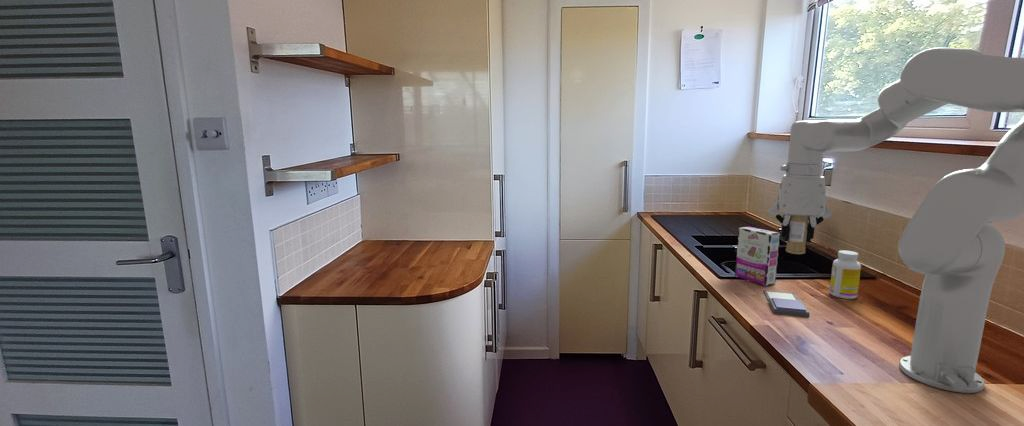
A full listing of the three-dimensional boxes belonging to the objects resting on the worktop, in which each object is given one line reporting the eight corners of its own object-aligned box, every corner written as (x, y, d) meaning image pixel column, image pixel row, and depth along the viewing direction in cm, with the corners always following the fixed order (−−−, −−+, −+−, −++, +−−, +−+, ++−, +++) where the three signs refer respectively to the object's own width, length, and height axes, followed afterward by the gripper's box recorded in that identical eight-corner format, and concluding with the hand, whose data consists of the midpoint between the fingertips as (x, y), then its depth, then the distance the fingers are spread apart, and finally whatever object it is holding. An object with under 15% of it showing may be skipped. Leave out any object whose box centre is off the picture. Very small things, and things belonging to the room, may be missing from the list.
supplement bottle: (862, 297, 136) (868, 254, 133) (846, 301, 134) (852, 256, 131) (839, 290, 142) (844, 248, 140) (823, 293, 140) (828, 250, 137)
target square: (800, 304, 132) (800, 303, 132) (768, 300, 134) (768, 299, 134) (794, 294, 139) (794, 293, 139) (763, 291, 142) (763, 290, 142)
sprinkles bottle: (808, 252, 125) (814, 201, 122) (799, 255, 122) (805, 203, 120) (790, 249, 128) (795, 199, 126) (781, 251, 126) (786, 201, 123)
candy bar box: (776, 284, 147) (781, 232, 144) (765, 287, 145) (770, 234, 142) (744, 274, 157) (748, 225, 154) (733, 276, 155) (738, 227, 152)
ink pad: (808, 316, 123) (809, 311, 123) (774, 313, 126) (774, 307, 126) (801, 305, 131) (802, 299, 130) (768, 302, 133) (769, 296, 133)
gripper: (769, 171, 120) (762, 241, 124) (847, 172, 115) (838, 246, 118) (764, 168, 127) (758, 235, 131) (838, 169, 122) (829, 239, 125)
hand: (796, 239), depth 124 cm, fingers closed on sprinkles bottle, 4 cm apart
